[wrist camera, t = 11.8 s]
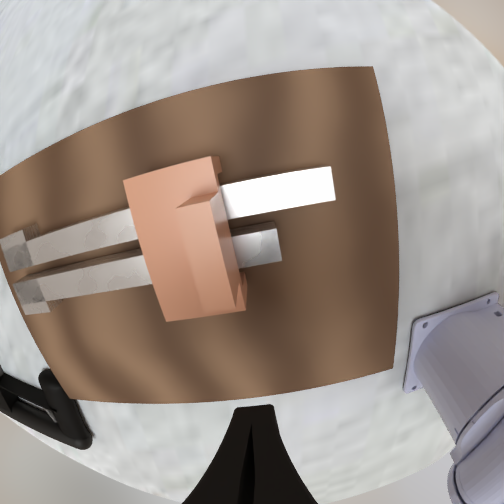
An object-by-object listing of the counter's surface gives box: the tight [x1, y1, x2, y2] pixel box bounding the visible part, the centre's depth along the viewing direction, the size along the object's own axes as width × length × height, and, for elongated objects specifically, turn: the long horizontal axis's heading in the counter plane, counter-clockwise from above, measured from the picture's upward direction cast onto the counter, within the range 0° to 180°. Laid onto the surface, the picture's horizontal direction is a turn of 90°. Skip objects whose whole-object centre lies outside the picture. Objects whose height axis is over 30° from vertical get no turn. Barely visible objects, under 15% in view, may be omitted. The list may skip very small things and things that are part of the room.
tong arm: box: [12, 221, 282, 315], centre depth 15 cm, size 18×2×2 cm, turn 101°
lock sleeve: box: [123, 156, 247, 322], centre depth 13 cm, size 4×7×5 cm, turn 11°
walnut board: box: [0, 67, 399, 404], centre depth 17 cm, size 28×20×2 cm
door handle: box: [0, 365, 92, 450], centre depth 22 cm, size 3×20×16 cm
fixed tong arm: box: [0, 165, 336, 272], centre depth 14 cm, size 21×2×2 cm, turn 101°
